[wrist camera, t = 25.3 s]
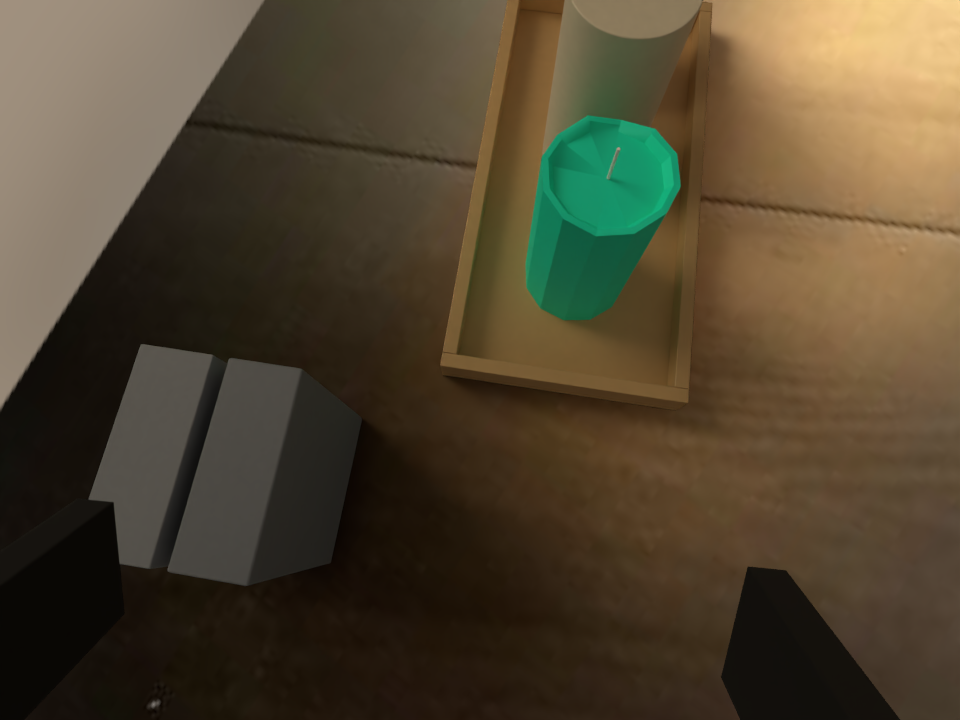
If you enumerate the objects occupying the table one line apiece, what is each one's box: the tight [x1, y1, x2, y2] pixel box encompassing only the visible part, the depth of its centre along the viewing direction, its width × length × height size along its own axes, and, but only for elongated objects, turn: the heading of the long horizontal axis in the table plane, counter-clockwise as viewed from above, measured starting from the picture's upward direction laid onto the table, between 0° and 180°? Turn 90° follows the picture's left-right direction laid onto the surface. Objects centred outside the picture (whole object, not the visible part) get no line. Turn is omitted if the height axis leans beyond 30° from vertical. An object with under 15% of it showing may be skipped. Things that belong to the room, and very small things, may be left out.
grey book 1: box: [88, 344, 227, 569], centre depth 26 cm, size 8×3×11 cm, turn 171°
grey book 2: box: [168, 358, 362, 586], centre depth 26 cm, size 8×3×11 cm, turn 171°
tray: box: [440, 0, 712, 410], centre depth 35 cm, size 28×14×2 cm, turn 171°
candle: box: [525, 115, 681, 320], centre depth 28 cm, size 6×6×12 cm
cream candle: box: [542, 0, 703, 156], centre depth 31 cm, size 6×6×12 cm
